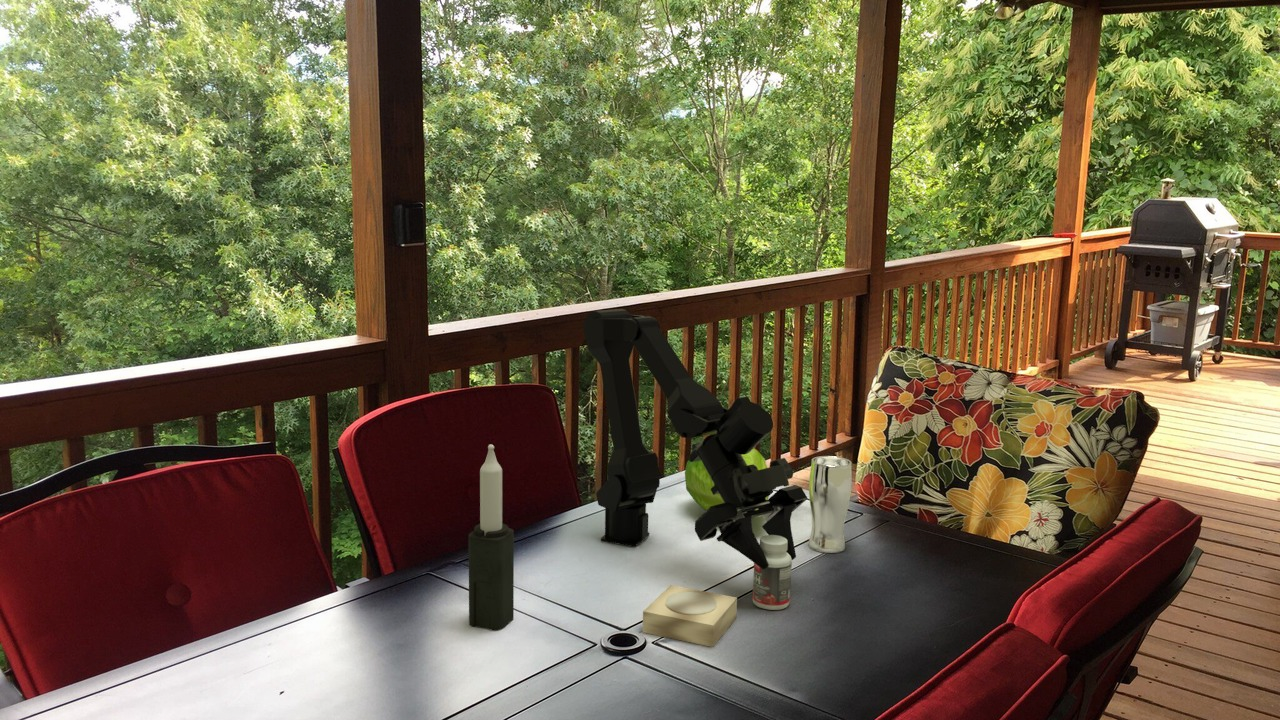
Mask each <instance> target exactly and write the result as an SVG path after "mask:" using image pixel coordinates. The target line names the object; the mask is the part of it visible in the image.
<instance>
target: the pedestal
mask: <svg viewBox="0 0 1280 720" xmlns="http://www.w3.org/2000/svg"><path fill="white" fill-rule="evenodd" d="M737 605H738V597H736V596H730V595H724V594H720V593H714V592H709V591H703V590H699V589H693V588H687V587H682V586H678V585H672V584H670V585H669V586H668V587H667V588H666V589H665V590H664V591H663V592H661V594H659V595H658V596H657V597H656V598H655V599H654V600H653V601H652V602H651V603H650V604H649V605H648V606H647V607H646V608H645V609H644V610H643V611H642V633H644V634H650V635H652V636H653V635H655V636H659V637H664V638H669V639H673V640H678V641H682V642H687V643H692V644H697V645H701V646H707V647H709V648H710V647H712V648H713V647H714V646H715V644H717V642H718V641H719V640H720V639H721V638H722V636H723V635H724V634H725V632H727V630H728V629H729V628H730V626H731V625H732V624H733V622H734V621H735V620H736V619H737V607H738V606H737Z"/></svg>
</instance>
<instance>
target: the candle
mask: <svg viewBox="0 0 1280 720" xmlns="http://www.w3.org/2000/svg"><path fill="white" fill-rule="evenodd" d="M487 449H488V450H487V454H486V458H485V461H484V463H483V464H482V465H481V467H480V469H479V497H480V498H479V503H480V506H479V511H480V512H479V513H480V514H479V515H480V516H479V521H480V523H478V524H476V525H475V526H474V528H473V530H472V531H471V532H470V533H468V625H469V626H471V627H473V628H475V627H476V628H481V629H488V630H491V631H501V630H503V629H504V628H505V627H507V625H509V624H510V623H511V622H512V621H513V620H514V617H515V616H514V611H515V610H514V608H515V607H514V605H515V604H514V601H515V598H514V595H515V593H514V591H515V590H514V589H515V588H514V587H515V586H514V583H515V581H514V580H515V578H514V575H515V574H514V570H515V569H514V568H515V567H514V566H515V564H514V559H515V558H514V557H515V553H514V550H515V547H514V546H515V545H514V542H515V540H514V539H515V538H514V536H515V533H514V532H515V531H514V529H513V528H509V525H507V524H505V523H503V468H502V466H501V464H499V462H498V460H497V457H496V453H495V451H494V450H495V446H494V445H493V444H488V446H487Z"/></svg>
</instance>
